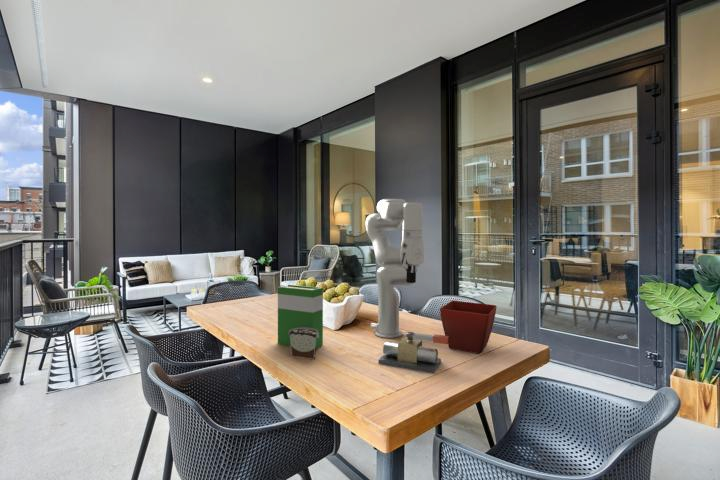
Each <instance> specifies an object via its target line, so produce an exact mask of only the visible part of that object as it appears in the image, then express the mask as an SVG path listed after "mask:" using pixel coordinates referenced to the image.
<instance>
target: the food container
mask: <svg viewBox="0 0 720 480" xmlns="http://www.w3.org/2000/svg"><path fill="white" fill-rule="evenodd" d="M288 335H290V344H291V346H290V352H291V354H290V355H291V357H293V358H299V357H300V358H302V359H308V360H315V359H316V356H317V355H316V354H317V348H316V346H317V339H318V338H319V333H318V330H316V329H314V328H307V327H302V328H294V329H291V330H289V333H288Z"/></svg>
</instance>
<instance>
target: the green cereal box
mask: <svg viewBox="0 0 720 480" xmlns="http://www.w3.org/2000/svg"><path fill="white" fill-rule="evenodd" d="M323 312H324V288H323V287H321V286H320V287H318V286H309V285H297V284H287V286H277V344H278V345H284V346H289V347H291V344H290V335H288V333H289V330H291V329H294V328H302V327H307V328H314V329H316V330H318V333H319V338H318V339H317V346H316V349H317V347H318V348H320V347H321V346H323V345H324V344H323V343H324V338H323V337H324V334H323V333H324V331H323V330H324V329H323V327H324V326H323V325H324V323H323V322H324V319H323V318H324V315H323V314H324V313H323Z"/></svg>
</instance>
